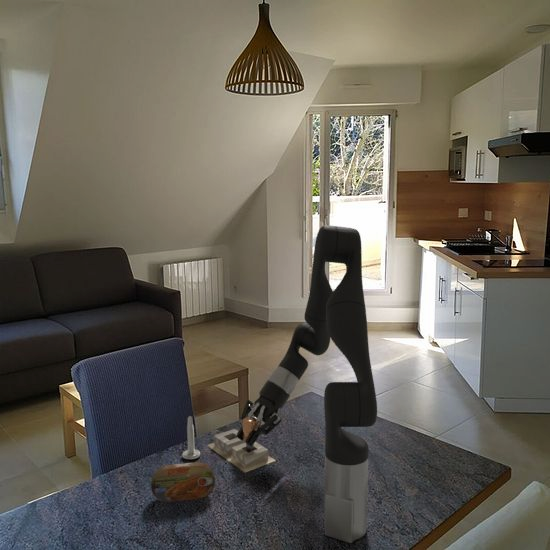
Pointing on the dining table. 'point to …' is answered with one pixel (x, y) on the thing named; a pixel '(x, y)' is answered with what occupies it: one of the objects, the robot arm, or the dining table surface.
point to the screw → (190, 442)
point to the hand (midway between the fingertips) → (243, 441)
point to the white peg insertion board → (240, 451)
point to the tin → (183, 482)
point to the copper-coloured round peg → (248, 431)
